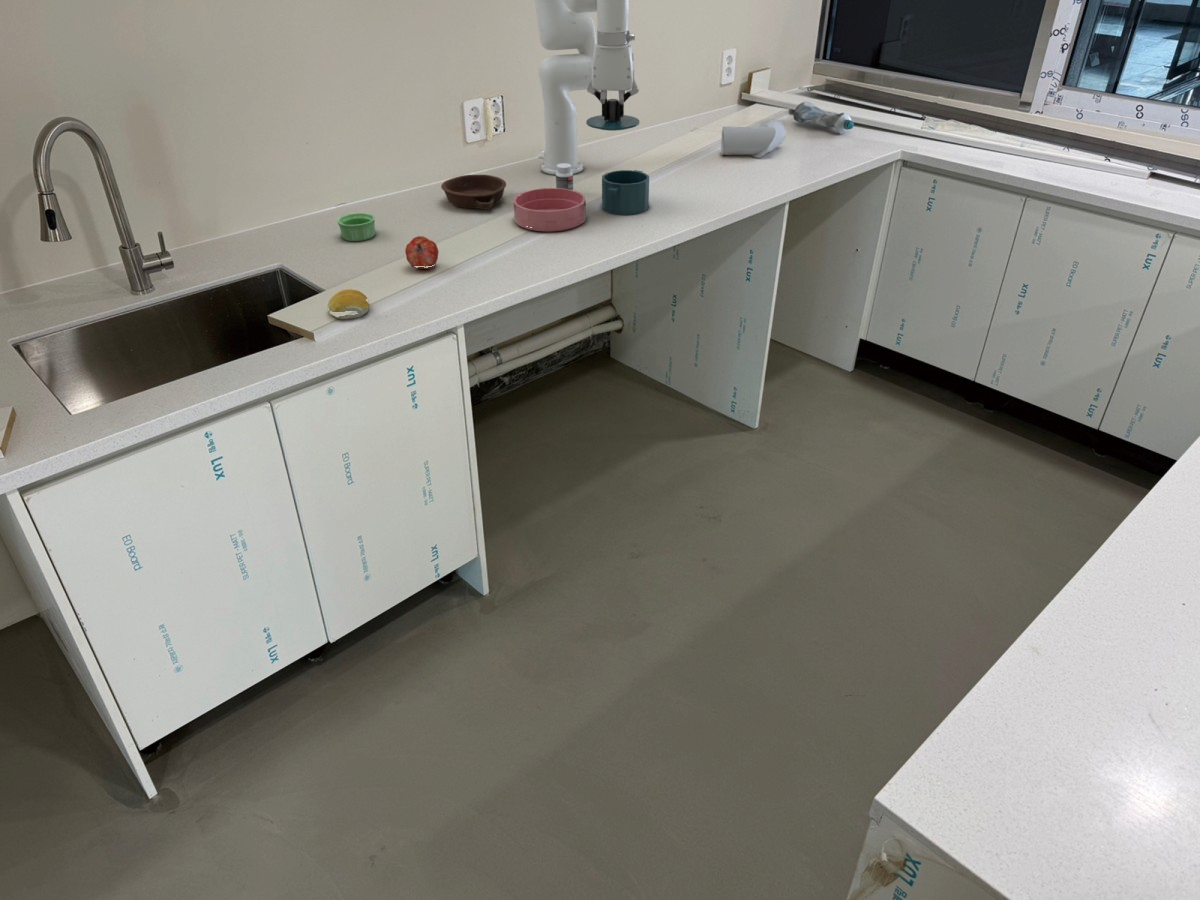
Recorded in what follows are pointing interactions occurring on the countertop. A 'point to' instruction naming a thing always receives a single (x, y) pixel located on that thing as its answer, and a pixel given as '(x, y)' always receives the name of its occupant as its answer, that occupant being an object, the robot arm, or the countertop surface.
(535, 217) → the bowl
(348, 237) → the ramekin
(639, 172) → the pot
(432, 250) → the pomegranate
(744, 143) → the bent grey cylinder
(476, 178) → the dish
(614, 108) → the lid
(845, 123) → the crushed plastic bottle
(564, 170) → the pill bottle
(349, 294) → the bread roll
